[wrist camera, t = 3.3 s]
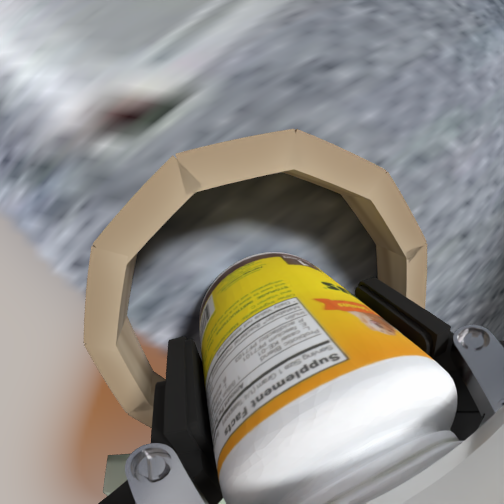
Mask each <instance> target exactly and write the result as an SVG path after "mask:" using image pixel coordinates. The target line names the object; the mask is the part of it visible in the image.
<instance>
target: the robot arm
mask: <svg viewBox="0 0 504 504" xmlns="http://www.w3.org/2000/svg"><path fill="white" fill-rule="evenodd" d="M355 296H356V297H357V298H358V299H359V300H360V301H361V302H363V303H364V304H365V305H367V306H368V307H369V308H370V309H371V310H373V311H374V312H375V313H377V314H378V315H379V316H380V317H382V318H383V319H384V320H385V321H387V322H388V323H389V324H390V325H392V326H393V327H394V328H395V329H397V330H398V331H399V332H400V333H402V334H403V335H404V336H405V337H407V338H408V339H409V340H410V341H412V342H413V343H414V344H415V345H417V346H418V347H419V348H420V349H421V350H423V351H424V352H425V353H426V354H428V355H429V356H430V357H431V358H432V359H434V360H435V361H436V362H437V363H438V364H439V365H440V366H441V367H442V368H443V369H444V370H446V371H447V372H448V373H449V375H450V376H451V378H452V379H453V381H454V384H455V387H456V390H457V411H456V414H455V418H454V421H453V423H452V426H451V428H450V430H449V431H451V432H453V433H454V434H455V435H456V437H457V438H458V439H459V441H463V442H462V443H461V444H460V445H458V446H457V447H456V448H455V449H453V450H452V451H451V452H449V453H448V454H447V455H445V456H444V457H443V458H441V459H440V460H438V461H437V462H436V463H434V464H433V465H431V466H430V467H428V468H427V469H425V470H424V471H422V472H421V473H419V474H418V475H416V476H414V477H413V478H411V479H409V480H408V481H406V482H404V483H403V484H401V485H399V486H398V487H396V488H394V489H392V490H390V491H389V492H387V493H385V494H383V495H381V496H379V497H377V498H375V499H373V500H371V501H369V502H367V503H365V504H504V341H498V340H497V339H496V337H495V336H494V335H493V334H492V333H491V332H490V331H489V330H488V329H487V328H485V327H483V326H479V325H465V326H463V327H460V328H459V329H458V330H456V331H455V333H454V334H453V333H452V332H451V331H450V328H451V326H449V325H448V324H446V323H445V322H443V321H442V320H440V319H439V318H437V317H436V316H434V315H433V314H431V313H430V312H428V311H427V310H425V309H424V308H422V307H421V306H419V305H418V304H416V303H415V302H413V301H411V300H410V299H408V298H407V297H405V296H404V295H402V294H401V293H399V292H397V291H396V290H394V289H393V288H391V287H390V286H388V285H386V284H385V283H383V282H382V281H380V280H378V279H377V278H375V277H372V278H370V279H367V280H364V281H362V282H360V283H359V285H358V287H357V288H356V290H355ZM125 473H126V477H127V480H126V481H125V482H124V483H123V484H122V485H120V486H119V487H118V488H117V489H116V490H114V491H113V492H112V493H111V494H110V495H108V496H107V497H106V498H105V499H103V500H102V501H101V502H100V503H99V504H219V502H220V501H221V500H222V499H223V495H222V491H221V487H220V483H219V479H218V472H217V466H216V461H215V455H214V449H213V441H212V435H211V428H210V421H209V414H208V407H207V399H206V391H205V384H204V373H203V364H202V360H201V358H200V355H199V353H198V350H197V348H196V345H195V343H194V341H193V339H189V340H187V338H186V337H185V336H183V337H179V338H175V339H171V340H169V342H168V355H167V369H166V380H165V381H161V382H157V383H156V385H155V392H154V403H153V416H152V431H151V443H150V444H146V445H143V446H141V447H139V448H137V449H136V450H135V451H134V452H132V453H131V454H130V456H129V457H128V459H127V460H126V464H125Z"/></svg>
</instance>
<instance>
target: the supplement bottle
mask: <svg viewBox="0 0 504 504" xmlns="http://www.w3.org/2000/svg"><path fill="white" fill-rule="evenodd" d="M199 331H200V342H201V353H202V364H203V373H204V384H205V391H206V399H207V407H208V414H209V421H210V428H211V435H212V441H213V449H214V455H215V461H216V466H217V472H218V479H219V483H220V487H221V491H222V495H223V498H224V500H225V502H226V504H365V503H367V502H369V501H371V500H373V499H375V498H377V497H379V496H381V495H383V494H385V493H387V492H389V491H390V490H392V489H394V488H396V487H398V486H399V485H401V484H403V483H404V482H406V481H408V480H409V479H411V478H413V477H414V476H416V475H418V474H419V473H421V472H422V471H424V470H425V469H427V468H428V467H430V466H431V465H433V464H434V463H436V462H437V461H438V460H440V459H441V458H443V457H444V456H445V455H447V454H448V453H449V452H451V451H452V450H453V449H455V448H456V447H457V446H458V445H460V444H461V443H462V442H463V441H459V439H458V438H457V437H456V435H455V434H454V433H453V432H451V431H449V430H450V428H451V426H452V423H453V421H454V418H455V414H456V411H457V390H456V387H455V384H454V381H453V379H452V378H451V376H450V375H449V373H448V372H447V371H446V370H444V369H443V368H442V367H441V366H440V365H439V364H438V363H437V362H436V361H435V360H434V359H432V358H431V357H430V356H429V355H428V354H426V353H425V352H424V351H423V350H421V349H420V348H419V347H418V346H417V345H415V344H414V343H413V342H412V341H410V340H409V339H408V338H407V337H405V336H404V335H403V334H402V333H400V332H399V331H398V330H397V329H395V328H394V327H393V326H392V325H390V324H389V323H388V322H387V321H385V320H384V319H383V318H382V317H380V316H379V315H378V314H377V313H375V312H374V311H373V310H371V309H370V308H369V307H368V306H367V305H365V304H364V303H363V302H361V301H360V300H359V299H358V298H357V297H355V296H354V295H352V294H351V293H350V292H349V291H347V290H346V289H345V288H343V287H342V286H341V285H339V284H338V283H337V282H335V281H334V280H333V279H332V278H330V277H329V276H328V275H326V274H325V273H324V272H322V271H321V270H320V269H318V268H317V267H316V266H314V265H313V264H311V263H310V262H308V261H306V260H304V259H302V258H300V257H298V256H295V255H291V254H287V253H281V252H267V253H261V254H256V255H252V256H249V257H247V258H244V259H242V260H240V261H238V262H236V263H234V264H233V265H231V266H230V267H228V268H227V269H226V270H225V271H223V272H222V273H221V274H220V275H219V276H218V277H217V278H216V279H215V281H214V282H213V283H212V285H211V286H210V288H209V289H208V291H207V293H206V295H205V297H204V299H203V302H202V305H201V310H200V316H199Z"/></svg>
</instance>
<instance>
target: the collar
mask: <svg viewBox="0 0 504 504" xmlns="http://www.w3.org/2000/svg"><path fill="white" fill-rule="evenodd" d="M176 157H177V159H176V158H175V157H174V156H172V157H171V158H170V159H169V160H168V161H167V162H166V163H165V164H164V165H163V166H162V167H161V168H160V169H159V170H158V171H157V172H156V173H155V174H154V175H153V176H152V177H151V178H150V179H149V180H148V181H147V182H146V183H145V184H144V185H143V186H142V187H141V188H140V190H139V191H138V192H137V193H136V194H135V195H134V196H133V197H132V198H131V199H130V200H129V202H128V203H127V204H126V205H125V206H124V207H123V208H122V209H121V211H120V212H119V213H118V214H117V215H116V216H115V218H114V219H113V220H112V221H111V222H110V223H109V225H108V226H107V227H106V228H105V229H104V231H103V232H102V233H101V234H100V235H99V237H98V238H97V239H96V240H95V242H94V243H93V246H92V247H91V254H90V261H89V269H88V278H87V289H86V301H85V318H84V343H85V344H84V345H85V347H86V349H87V351H88V352H89V355H90V356H91V358H92V360H93V362H94V363H95V365H96V367H97V368H98V370H99V372H100V374H101V375H102V377H103V379H104V380H105V382H106V383H107V385H108V387H109V388H110V390H111V391H112V393H113V394H114V396H115V397H116V399H117V400H118V402H119V403H120V405H121V406H122V408H123V409H124V410H125V412H126V413H128V415H130V416H132V417H133V418H135V419H137V420H138V421H140V422H142V423H143V424H145V425H147V426H149V427H150V428H152V416H153V403H154V392H155V385H156V383H157V382H161V381H165V380H166V379H164V378H163V377H161V376H160V375H158V374H157V373H155V372H154V371H153V370H152V368H151V366H150V364H149V362H148V360H147V358H146V356H145V354H144V352H143V350H142V348H141V346H140V343H139V341H138V339H137V337H136V335H135V333H134V331H133V328H132V326H131V324H130V322H129V319H128V317H127V311H128V304H129V298H130V291H131V285H132V279H133V273H134V268H135V262H136V257H137V252H138V251H139V250H140V249H141V248H142V247H143V246H144V245H145V244H146V243H147V242H148V240H149V239H150V238H151V237H152V236H153V235H154V234H155V233H156V232H157V231H158V230H159V229H160V228H161V227H162V226H163V225H164V223H165V222H166V221H167V220H168V219H169V218H170V217H171V216H172V215H173V214H174V213H175V212H176V211H177V210H178V209H179V208H180V207H181V206H182V205H183V204H184V203H185V202H186V201H187V200H188V199H189V198H190V197H191V196H192V195H193V194H194V193H195V192H198V191H202V190H206V189H210V188H214V187H218V186H222V185H226V184H230V183H234V182H238V181H242V180H247V179H251V178H255V177H260V176H264V175H269V174H274V173H278V172H283V173H285V174H288V175H291V176H294V177H297V178H300V179H302V180H305V181H308V182H310V183H313V184H316V185H319V186H321V187H324V188H326V189H329V190H332V191H334V192H337V193H339V194H341V195H342V197H343V198H344V199H345V201H346V202H347V203H348V205H349V206H350V208H351V209H352V210H353V212H354V213H355V215H356V216H357V217H358V219H359V220H360V222H361V223H362V225H363V226H364V228H365V229H366V230H367V232H368V233H369V235H370V236H371V238H372V239H373V241H374V242H375V244H376V255H377V272H378V280H380V281H382V282H383V283H385V284H386V285H388V286H390V287H391V288H393V289H394V290H396V291H397V292H399V293H401V294H402V295H404V296H405V297H407V298H408V299H410V300H411V301H413V302H415V303H416V304H418V305H419V306H421V307H422V308H424V309H425V299H426V281H427V244H426V240H425V238H424V235H423V233H422V231H421V230H420V228H419V226H418V224H417V222H416V220H415V218H414V216H413V214H412V212H411V210H410V209H409V207H408V205H407V203H406V201H405V200H404V198H403V196H402V194H401V193H400V191H399V189H398V188H397V186H396V184H395V183H394V181H393V179H392V178H391V176H390V174H389V173H388V172H386V170H385V169H383V168H381V167H379V166H377V165H375V164H373V163H371V162H369V161H367V160H365V159H363V158H361V157H359V156H357V155H355V154H353V153H351V152H349V151H347V150H344V149H342V148H340V147H338V146H336V145H334V144H331V143H329V142H327V141H324V140H322V139H320V138H317V137H315V136H313V135H310V134H308V133H305V132H303V131H300V130H298V129H296V130H295V129H290V130H284V131H278V132H272V133H266V134H260V135H255V136H250V137H245V138H240V139H235V140H230V141H226V142H221V143H217V144H213V145H208V146H204V147H200V148H196V149H192V150H188V151H184V152H181V153H177V154H176Z"/></svg>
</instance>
